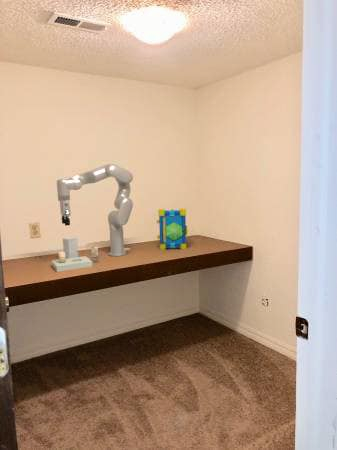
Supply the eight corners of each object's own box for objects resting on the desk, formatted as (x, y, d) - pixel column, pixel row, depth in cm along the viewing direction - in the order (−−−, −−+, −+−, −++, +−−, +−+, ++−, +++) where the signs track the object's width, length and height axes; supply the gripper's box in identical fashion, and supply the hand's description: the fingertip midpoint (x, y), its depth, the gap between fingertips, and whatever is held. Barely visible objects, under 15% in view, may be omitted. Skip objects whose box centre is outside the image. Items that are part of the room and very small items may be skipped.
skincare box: (69, 260, 248) (68, 239, 246) (63, 259, 252) (62, 238, 249) (78, 258, 255) (77, 237, 253) (72, 257, 259) (71, 236, 256)
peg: (97, 260, 247) (96, 246, 245) (99, 262, 243) (98, 247, 242) (91, 261, 245) (90, 247, 243) (93, 262, 241) (92, 248, 240)
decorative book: (187, 250, 272) (187, 210, 268) (157, 250, 273) (155, 210, 268) (187, 245, 287) (186, 207, 282) (157, 246, 287) (156, 208, 282)
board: (85, 261, 246) (85, 246, 245) (92, 266, 232) (91, 251, 231) (52, 265, 236) (51, 250, 235) (57, 271, 222) (55, 255, 221)
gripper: (72, 198, 230) (74, 225, 233) (67, 197, 246) (69, 222, 249) (60, 199, 227) (62, 226, 230) (55, 197, 243) (57, 223, 245)
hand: (66, 224), depth 239 cm, fingers open, 9 cm apart
